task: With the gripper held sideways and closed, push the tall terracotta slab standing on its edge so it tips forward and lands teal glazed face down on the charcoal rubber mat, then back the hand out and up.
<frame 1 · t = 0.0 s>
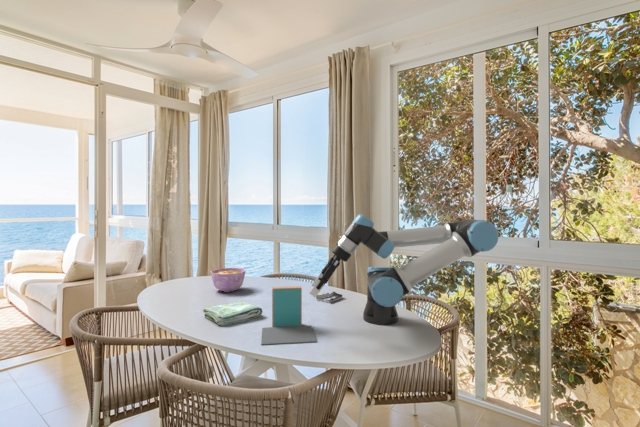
hand: (313, 291, 143), 15 cm above the table, tool tilted 35°, fingers open, 13 cm apart
terracotta slab: (286, 325, 147), on the table
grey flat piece: (330, 300, 188), on the table
towel: (232, 317, 159), on the table
bowl of food: (228, 290, 207), on the table
charcoal mat: (288, 335, 136), on the table
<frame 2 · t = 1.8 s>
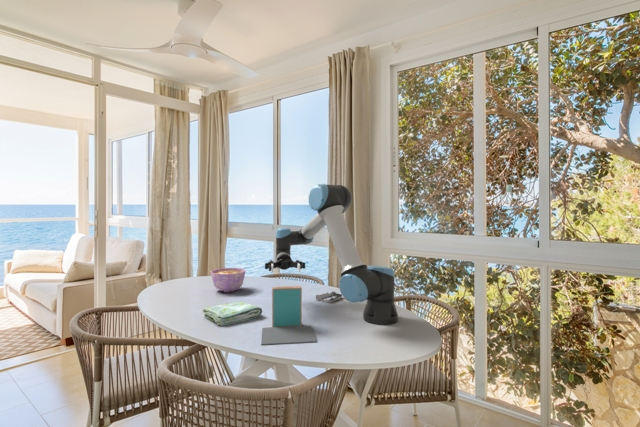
hand: (286, 269, 154), 22 cm above the table, tool horizontal, fingers open, 11 cm apart
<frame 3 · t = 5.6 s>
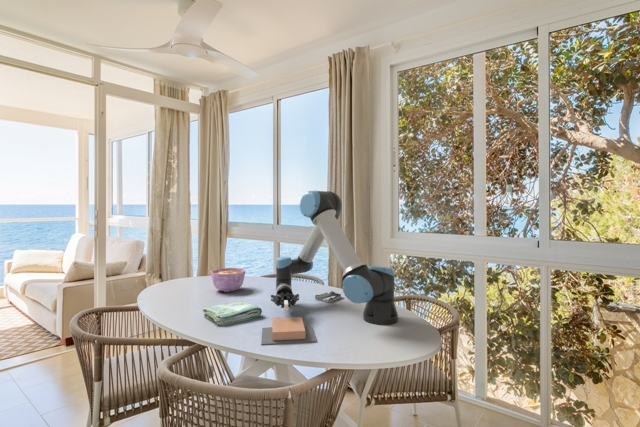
hand: (286, 307, 143), 8 cm above the table, tool horizontal, fingers closed
terracotta slab: (287, 321, 145), point 2 cm above the table, tilted 90°, touching charcoal mat
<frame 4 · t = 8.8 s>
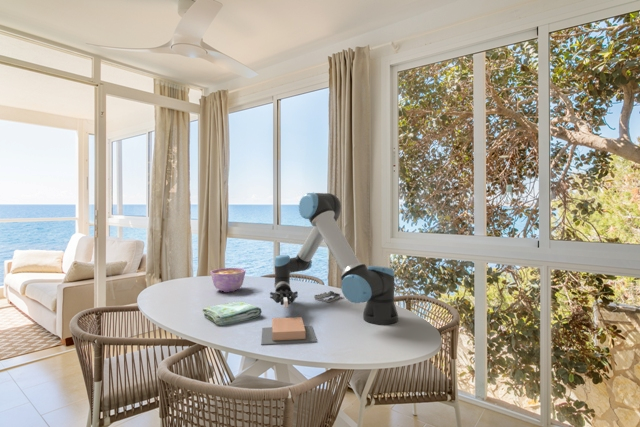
hand: (285, 304, 147), 9 cm above the table, tool horizontal, fingers closed
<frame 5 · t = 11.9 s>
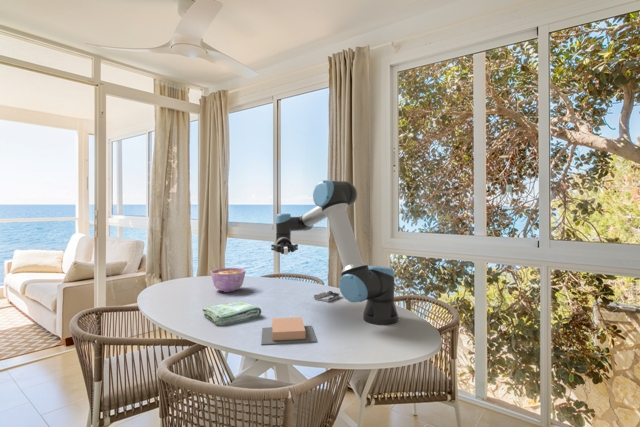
hand: (286, 251, 153), 30 cm above the table, tool horizontal, fingers closed
at the end: terracotta slab tilted 90°; terracotta slab inside the target area on the charcoal mat (0.3 cm from its centre), point 2.2 cm above the charcoal mat's base; terracotta slab touching charcoal mat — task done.
